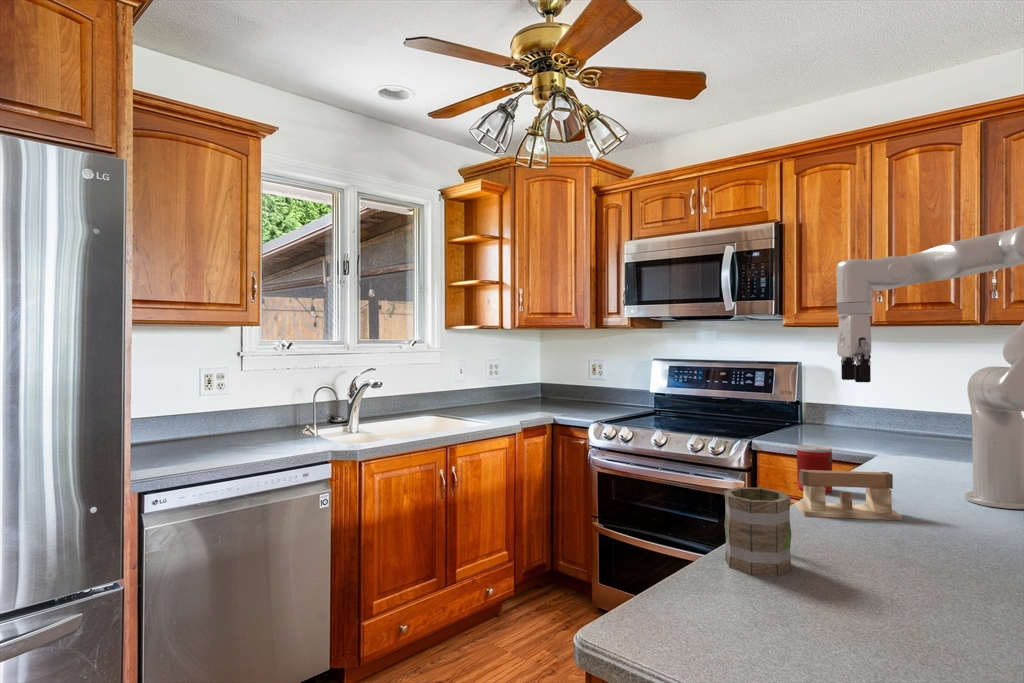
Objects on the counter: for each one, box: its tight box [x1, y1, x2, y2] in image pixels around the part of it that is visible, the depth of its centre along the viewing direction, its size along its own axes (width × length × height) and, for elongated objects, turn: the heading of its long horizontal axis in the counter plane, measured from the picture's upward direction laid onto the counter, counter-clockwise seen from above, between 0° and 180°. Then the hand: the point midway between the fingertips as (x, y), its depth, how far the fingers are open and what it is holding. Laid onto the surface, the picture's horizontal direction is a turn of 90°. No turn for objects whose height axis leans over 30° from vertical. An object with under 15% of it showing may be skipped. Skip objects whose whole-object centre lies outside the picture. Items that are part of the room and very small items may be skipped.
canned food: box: [796, 444, 833, 495], centre depth 154 cm, size 8×8×11 cm
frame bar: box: [800, 469, 894, 490], centre depth 133 cm, size 18×3×3 cm, turn 78°
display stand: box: [794, 486, 903, 521], centre depth 133 cm, size 19×8×6 cm, turn 78°
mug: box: [723, 486, 793, 577], centre depth 105 cm, size 16×11×12 cm
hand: (855, 380), depth 147 cm, fingers open, 9 cm apart
